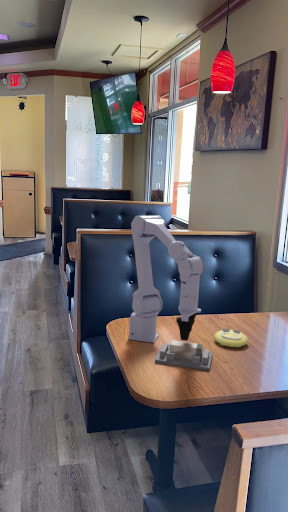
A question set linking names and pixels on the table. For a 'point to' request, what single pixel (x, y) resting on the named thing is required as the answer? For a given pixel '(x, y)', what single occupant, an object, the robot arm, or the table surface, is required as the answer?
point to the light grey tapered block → (185, 349)
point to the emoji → (231, 338)
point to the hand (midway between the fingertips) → (186, 335)
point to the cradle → (195, 363)
